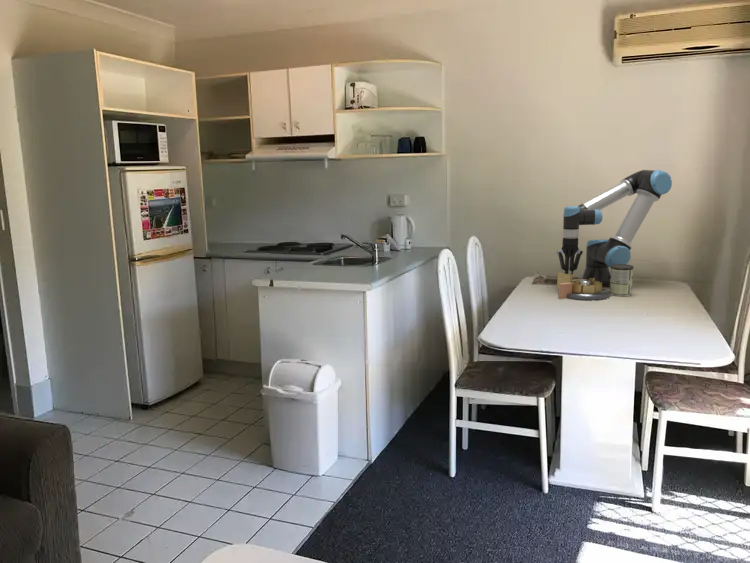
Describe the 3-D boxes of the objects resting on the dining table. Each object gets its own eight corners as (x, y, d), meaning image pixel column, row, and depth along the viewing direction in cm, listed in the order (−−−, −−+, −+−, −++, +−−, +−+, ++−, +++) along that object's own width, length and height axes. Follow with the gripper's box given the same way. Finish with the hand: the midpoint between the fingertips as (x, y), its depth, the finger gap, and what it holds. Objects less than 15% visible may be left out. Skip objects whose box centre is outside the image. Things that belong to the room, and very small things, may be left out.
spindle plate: (599, 289, 317) (599, 275, 315) (618, 299, 293) (619, 285, 292) (552, 290, 316) (552, 276, 315) (567, 301, 293) (568, 286, 291)
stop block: (568, 296, 302) (568, 282, 301) (571, 297, 300) (572, 283, 299) (558, 297, 300) (559, 283, 298) (561, 298, 298) (562, 284, 296)
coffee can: (606, 291, 311) (608, 264, 308) (628, 291, 310) (629, 264, 307) (612, 296, 301) (614, 267, 298) (634, 296, 300) (636, 267, 297)
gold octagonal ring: (606, 290, 304) (607, 276, 302) (590, 295, 294) (591, 280, 292) (566, 283, 320) (567, 270, 318) (549, 288, 310) (550, 274, 309)
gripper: (579, 236, 314) (577, 281, 319) (555, 236, 313) (553, 282, 318) (586, 237, 307) (583, 284, 312) (561, 238, 306) (559, 285, 311)
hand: (568, 283), depth 315 cm, fingers closed
